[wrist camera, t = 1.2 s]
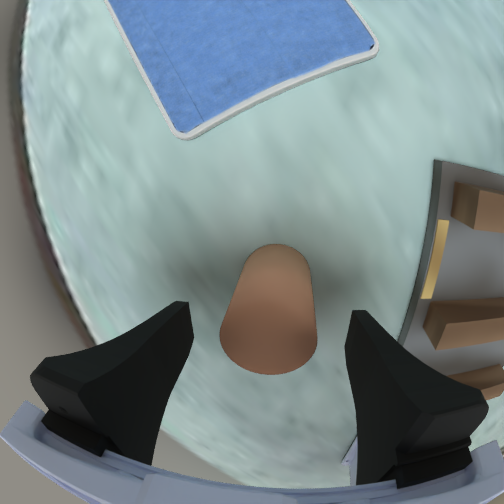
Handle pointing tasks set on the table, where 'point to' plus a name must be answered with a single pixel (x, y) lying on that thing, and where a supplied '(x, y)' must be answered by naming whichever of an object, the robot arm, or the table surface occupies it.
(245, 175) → the table surface
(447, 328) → the comb rack
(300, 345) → the terracotta plug
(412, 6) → the table surface
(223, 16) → the tablet computer
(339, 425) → the table surface
